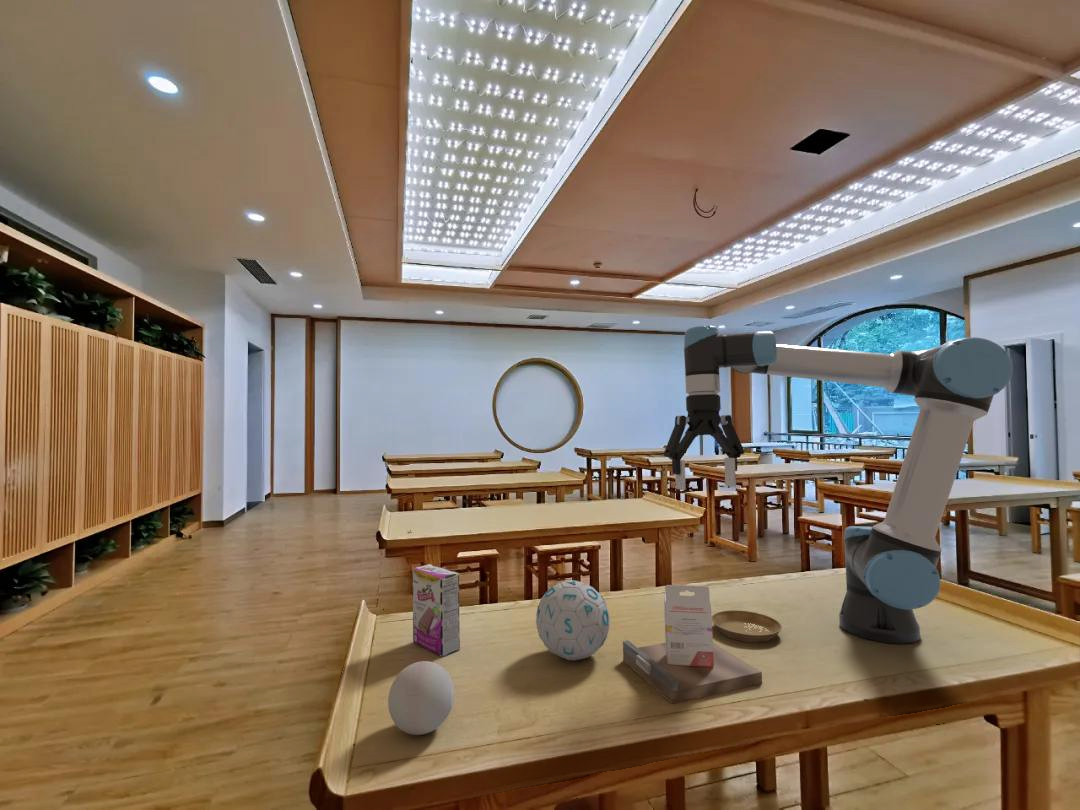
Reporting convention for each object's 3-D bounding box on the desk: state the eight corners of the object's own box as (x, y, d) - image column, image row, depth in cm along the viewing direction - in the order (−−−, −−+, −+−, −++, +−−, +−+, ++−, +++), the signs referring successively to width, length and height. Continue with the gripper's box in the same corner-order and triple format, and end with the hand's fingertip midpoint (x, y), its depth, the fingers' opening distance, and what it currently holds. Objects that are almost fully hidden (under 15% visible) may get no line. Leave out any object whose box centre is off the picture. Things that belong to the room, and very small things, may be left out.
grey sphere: (396, 713, 84) (396, 651, 84) (458, 710, 84) (457, 649, 85) (380, 751, 74) (380, 681, 74) (450, 748, 74) (450, 678, 75)
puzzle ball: (557, 680, 94) (555, 598, 94) (525, 649, 107) (523, 577, 108) (625, 663, 100) (623, 586, 101) (586, 635, 114) (585, 568, 114)
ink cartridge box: (710, 656, 98) (708, 579, 99) (714, 668, 93) (711, 587, 94) (665, 653, 100) (663, 577, 100) (666, 664, 95) (664, 585, 95)
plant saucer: (737, 616, 124) (737, 605, 124) (795, 636, 112) (795, 624, 112) (698, 630, 116) (697, 618, 116) (756, 653, 104) (755, 640, 104)
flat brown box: (702, 645, 107) (702, 627, 108) (762, 683, 91) (761, 661, 91) (620, 661, 101) (620, 641, 101) (668, 704, 85) (668, 681, 85)
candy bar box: (411, 643, 111) (410, 567, 112) (430, 636, 115) (429, 563, 116) (441, 658, 104) (441, 577, 104) (461, 650, 107) (460, 572, 108)
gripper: (735, 395, 124) (739, 483, 122) (646, 395, 115) (649, 488, 114) (758, 393, 116) (762, 486, 115) (665, 392, 108) (668, 492, 107)
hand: (706, 487), depth 115 cm, fingers open, 13 cm apart
